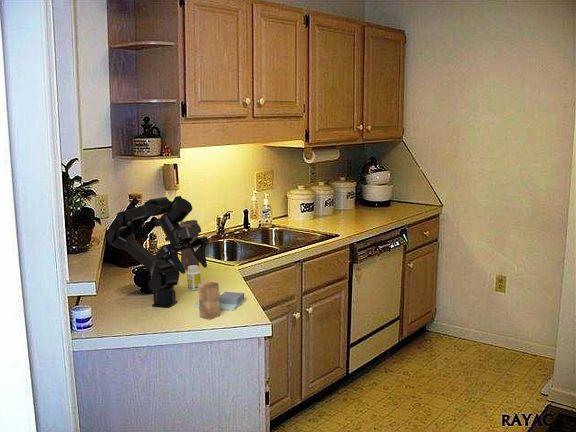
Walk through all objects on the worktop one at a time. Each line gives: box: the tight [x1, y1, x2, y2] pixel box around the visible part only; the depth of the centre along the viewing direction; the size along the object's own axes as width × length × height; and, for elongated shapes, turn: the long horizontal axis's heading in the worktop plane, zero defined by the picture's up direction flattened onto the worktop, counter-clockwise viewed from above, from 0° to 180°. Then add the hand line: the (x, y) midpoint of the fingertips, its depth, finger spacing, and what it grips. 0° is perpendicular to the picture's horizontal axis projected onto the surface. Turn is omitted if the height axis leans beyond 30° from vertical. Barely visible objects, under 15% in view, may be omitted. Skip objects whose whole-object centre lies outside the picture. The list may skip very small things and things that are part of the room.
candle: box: [179, 219, 200, 270], centre depth 256 cm, size 8×7×20 cm
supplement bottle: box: [186, 265, 202, 291], centre depth 227 cm, size 5×5×8 cm
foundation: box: [194, 290, 246, 311], centre depth 209 cm, size 14×11×3 cm
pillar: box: [198, 280, 221, 321], centre depth 196 cm, size 4×4×11 cm
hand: (195, 270), depth 197 cm, fingers open, 9 cm apart
